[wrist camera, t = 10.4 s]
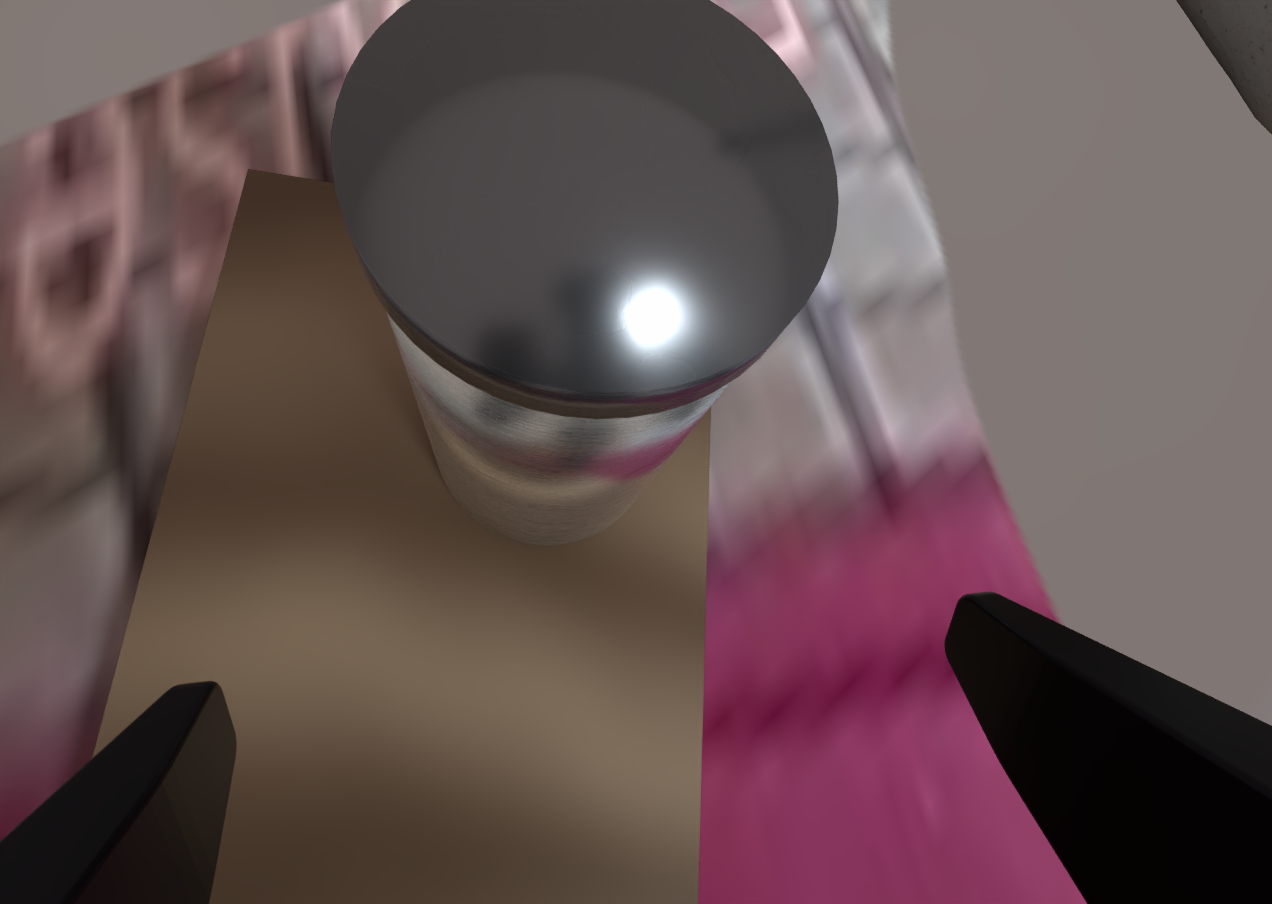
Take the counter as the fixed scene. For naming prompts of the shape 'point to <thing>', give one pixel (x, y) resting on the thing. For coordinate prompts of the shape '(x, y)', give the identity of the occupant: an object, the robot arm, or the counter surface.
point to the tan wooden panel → (407, 621)
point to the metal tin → (577, 234)
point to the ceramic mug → (1239, 46)
